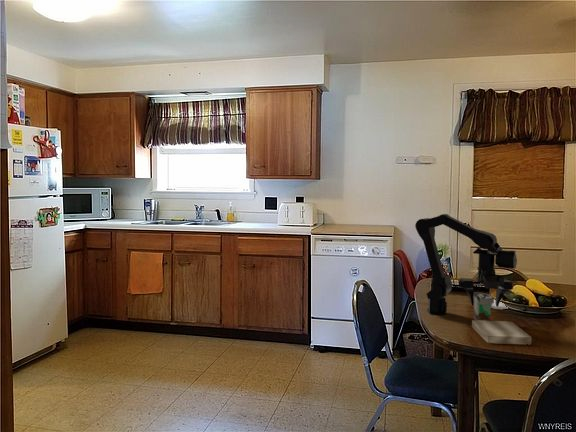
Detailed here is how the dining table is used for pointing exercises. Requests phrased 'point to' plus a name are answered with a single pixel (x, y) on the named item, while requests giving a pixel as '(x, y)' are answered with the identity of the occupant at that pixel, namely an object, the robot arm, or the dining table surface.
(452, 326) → the dining table surface
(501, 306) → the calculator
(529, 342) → the pale grey slab
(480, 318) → the food container
